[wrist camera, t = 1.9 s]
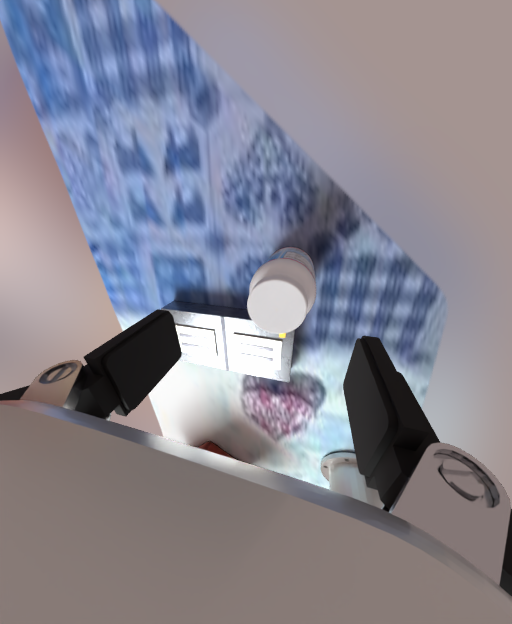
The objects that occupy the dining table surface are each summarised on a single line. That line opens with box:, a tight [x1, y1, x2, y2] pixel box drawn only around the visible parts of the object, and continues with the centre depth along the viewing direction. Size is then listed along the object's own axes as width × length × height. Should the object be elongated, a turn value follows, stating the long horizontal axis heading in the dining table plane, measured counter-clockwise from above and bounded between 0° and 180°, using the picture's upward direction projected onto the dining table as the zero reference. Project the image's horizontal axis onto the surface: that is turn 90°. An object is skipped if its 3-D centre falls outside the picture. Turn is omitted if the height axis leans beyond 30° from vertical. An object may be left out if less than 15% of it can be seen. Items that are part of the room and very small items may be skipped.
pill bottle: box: [247, 247, 316, 334], centre depth 19 cm, size 6×6×11 cm
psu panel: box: [161, 301, 295, 382], centre depth 29 cm, size 20×10×3 cm, turn 90°
